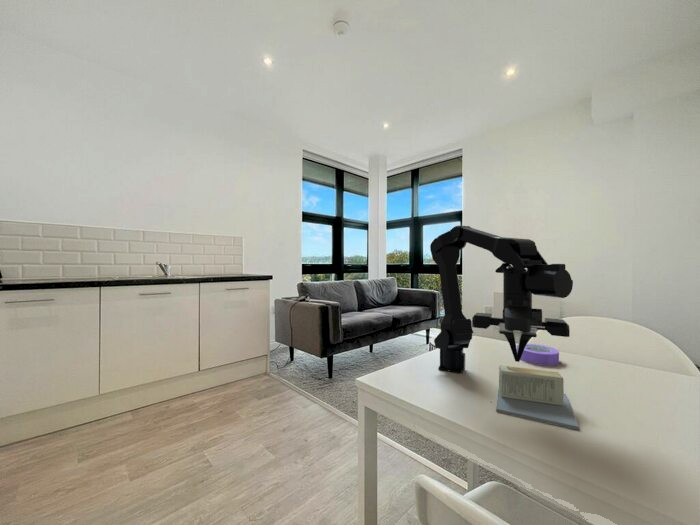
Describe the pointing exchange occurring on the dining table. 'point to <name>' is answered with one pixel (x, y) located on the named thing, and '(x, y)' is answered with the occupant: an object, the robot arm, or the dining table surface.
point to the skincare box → (531, 385)
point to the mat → (539, 411)
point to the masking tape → (540, 354)
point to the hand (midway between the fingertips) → (517, 361)
